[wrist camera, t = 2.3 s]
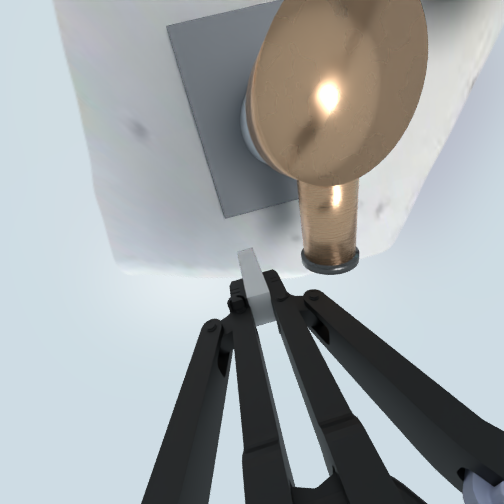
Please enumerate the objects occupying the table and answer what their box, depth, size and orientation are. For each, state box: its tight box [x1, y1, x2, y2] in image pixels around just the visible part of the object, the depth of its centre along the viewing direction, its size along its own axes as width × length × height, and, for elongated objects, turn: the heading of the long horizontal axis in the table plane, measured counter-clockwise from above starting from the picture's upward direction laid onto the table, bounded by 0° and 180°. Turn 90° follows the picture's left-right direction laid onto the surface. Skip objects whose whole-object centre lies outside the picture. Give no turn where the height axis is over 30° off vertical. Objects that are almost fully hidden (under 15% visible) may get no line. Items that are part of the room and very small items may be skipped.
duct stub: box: [166, 0, 299, 219], centre depth 25 cm, size 28×24×11 cm
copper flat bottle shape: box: [245, 0, 428, 275], centre depth 19 cm, size 23×13×7 cm, turn 13°
